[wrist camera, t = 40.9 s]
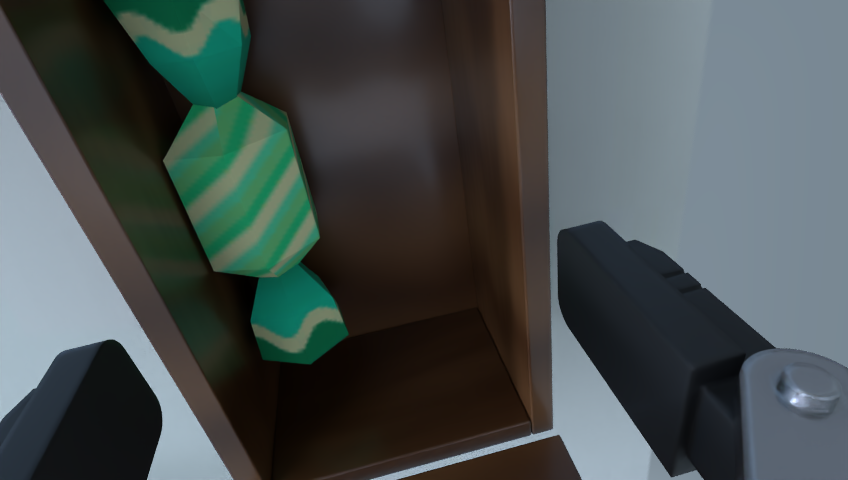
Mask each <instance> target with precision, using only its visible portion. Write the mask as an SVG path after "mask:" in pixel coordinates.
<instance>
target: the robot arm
mask: <svg viewBox="0 0 848 480" xmlns="http://www.w3.org/2000/svg"><path fill="white" fill-rule="evenodd" d="M557 257H558V300H559V305H560V309H561V312H562V315H563V318H564V320H565V322H566V324H567V326H568V327H569V329H570V330H571V332H572V333H573V335H574V336H575V338H576V339H577V341H578V342H579V344H580V345H581V346H582V348H583V349H584V351H585V352H586V354H587V355H588V357H589V358H590V360H591V361H592V362H593V364H594V365H595V367H596V368H597V370H598V371H599V373H600V374H601V376H602V377H603V379H604V380H605V381H606V383H607V384H608V386H609V387H610V389H611V390H612V392H613V393H614V395H615V396H616V397H617V399H618V400H619V402H620V403H621V405H622V406H623V408H624V409H625V411H626V412H627V414H628V415H629V416H630V418H631V419H632V421H633V422H634V424H635V425H636V427H637V428H638V430H639V431H640V432H641V434H642V435H643V437H644V438H645V440H646V441H647V443H648V444H649V446H650V447H651V449H652V450H653V451H654V453H655V454H656V456H657V457H658V459H659V460H660V462H661V463H662V465H663V466H664V467H665V469H666V470H667V472H668V473H669V475H670V476H671V477H674V476H678V475H681V474H684V473H688V472H691V471H694V470H697V471H698V472H699V473H700V475H701V476H702V478H703V479H704V480H848V368H847V367H845V366H843V365H841V364H839V363H837V362H835V361H833V360H831V359H828V358H826V357H823V356H820V355H817V354H814V353H811V352H807V351H802V350H796V349H782V348H781V349H780V348H775V347H774V346H773V345H772V344H770V343H769V342H768V341H767V340H766V339H765V338H763V337H762V336H761V335H760V334H759V333H757V332H756V331H755V330H754V329H753V328H752V327H751V326H749V325H748V324H747V323H746V322H745V321H744V320H742V319H741V318H740V317H739V316H738V315H737V314H735V313H734V312H733V311H732V310H731V309H729V308H728V307H727V306H726V305H725V304H724V303H722V302H721V301H720V300H719V299H717V297H715V296H714V295H713V294H712V293H711V292H710V291H708V290H707V289H706V288H702V287H701V284H700V283H699V282H698V281H697V280H696V279H694V278H693V277H692V276H691V275H690V274H689V273H684V270H683V268H681V267H680V266H679V265H678V264H677V263H676V262H674V261H673V260H672V259H671V258H670V257H669V256H667V255H666V254H665V253H664V252H662V251H660V250H658V249H656V248H653V247H651V246H649V245H646V244H644V243H642V242H639V241H637V240H632V241H628V242H626V241H624V240H623V239H622V238H621V237H620V236H619V235H618V234H617V233H616V232H615V231H614V230H613V229H611V228H610V227H609V226H608V225H607V224H606V223H605V222H603V221H596V222H592V223H588V224H584V225H580V226H576V227H572V228H568V229H564V230H561V231H560V232H559V234H558V239H557ZM161 431H162V411H161V407H160V404H159V401H158V399H157V397H156V395H155V394H154V392H153V391H152V389H151V388H150V386H149V385H148V383H147V382H146V380H145V379H144V377H143V376H142V374H141V373H140V371H139V370H138V368H137V367H136V365H135V364H134V362H133V361H132V359H131V358H130V356H129V355H128V353H127V352H126V350H125V349H124V347H123V346H122V345H121V344H120V343H119V342H117V341H115V340H106V341H102V342H98V343H94V344H90V345H86V346H82V347H77V348H73V349H69V350H65V351H63V352H61V353H59V354H58V355H57V356H56V358H55V359H54V361H53V362H52V364H51V366H50V367H49V369H48V370H47V372H46V374H45V375H44V377H43V378H42V380H41V382H40V383H39V385H38V387H37V388H36V389H33V390H32V391H31V392H30V393H29V394H28V395H27V396H26V397H25V398H24V399H23V400H21V401H20V402H19V403H18V404H17V405H16V406H15V407H14V408H13V409H12V410H11V411H10V412H9V413H8V414H7V415H6V416H5V417H4V418H3V419H2V421H1V422H0V480H147V477H148V474H149V471H150V467H151V464H152V461H153V458H154V454H155V451H156V448H157V445H158V441H159V438H160V435H161Z"/></svg>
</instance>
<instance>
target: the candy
mask: <svg viewBox="0 0 848 480" xmlns="http://www.w3.org/2000/svg"><path fill="white" fill-rule="evenodd" d="M104 2H105V3H106V5H107V6H108V7H109V9H110V10H111V11H112V13H113V14H114V15H115V17H116V18H117V20H118V21H119V22H120V24H121V25H122V26H123V28H124V29H125V30H126V32H127V33H128V35H129V36H130V37H131V39H132V40H133V41H134V43H135V44H136V45H137V47H138V48H139V50H140V51H141V52H142V54H143V55H144V56H145V58H146V59H147V60H148V62H149V63H150V64H151V65H152V66H153V67H154V68H155V69H156V70H157V71H158V72H159V73H160V74H161V75H162V76H163V77H164V78H165V79H167V80H168V81H169V82H170V83H171V84H172V85H173V86H174V87H175V88H176V89H177V90H178V91H179V92H180V93H181V94H183V95H184V96H185V97H186V98H187V99H188V100H189V101H190V102H191V103H192V104H193V105H192V107H191V109H190V111H189V113H188V115H187V117H186V119H185V120H184V122H183V124H182V126H181V128H180V130H179V132H178V134H177V136H176V138H175V139H174V141H173V143H172V145H171V147H170V149H169V151H168V153H167V155H166V156H165V158H164V160H163V162H164V164H165V166H166V168H167V170H168V173H169V175H170V177H171V179H172V181H173V183H174V186H175V188H176V190H177V192H178V194H179V196H180V199H181V201H182V203H183V205H184V207H185V209H186V212H187V214H188V216H189V218H190V220H191V222H192V225H193V227H194V229H195V231H196V233H197V235H198V238H199V240H200V242H201V244H202V246H203V248H204V251H205V253H206V255H207V257H208V259H209V261H210V264H211V266H212V268H213V270H214V271H216V272H224V273H231V274H238V275H245V276H253V277H259V280H258V285H257V290H256V295H255V300H254V306H253V311H252V316H251V321H250V322H251V325H252V328H253V331H254V334H255V337H256V340H257V343H258V347H259V350H260V353H261V356H262V359H263V360H269V361H279V362H290V363H300V364H312V363H313V362H314V361H316V360H317V359H318V358H319V357H321V356H322V355H323V354H325V353H326V352H327V351H328V350H330V349H331V348H332V347H334V346H335V345H336V344H337V343H339V342H340V341H341V340H343V339H344V338H345V337H346V336H348V335H349V333H348V330H347V327H346V324H345V321H344V318H343V315H342V313H341V310H340V307H339V305H338V303H337V302H336V300H335V299H334V297H333V296H332V295H331V293H330V292H329V290H328V289H327V288H326V286H325V285H324V283H323V282H322V280H321V279H320V278H319V276H317V275H316V274H315V273H314V272H312V271H311V270H310V269H309V268H307V267H306V266H305V265H304V264H302V263H301V262H300V261H301V260H302V259H303V258H304V256H305V255H306V254H307V253H308V252H309V250H310V249H311V248H312V247H313V246H314V244H315V243H316V242H317V241H318V240H319V238H320V234H319V226H318V218H317V212H316V208H315V205H314V202H313V199H312V195H311V192H310V189H309V185H308V182H307V179H306V175H305V172H304V169H303V165H302V162H301V159H300V155H299V152H298V149H297V146H296V142H295V139H294V136H293V132H292V129H291V126H290V122H289V119H288V116H287V112H284V111H282V110H280V109H278V108H276V107H274V106H272V105H269V104H267V103H265V102H263V101H261V100H259V99H256V98H254V97H252V96H250V95H248V94H246V93H243V92H241V89H242V84H243V78H244V73H245V67H246V62H247V56H248V51H249V45H250V40H251V34H250V29H249V25H248V20H247V16H246V11H245V6H244V2H243V0H104Z"/></svg>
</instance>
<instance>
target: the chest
mask: <svg viewBox="0 0 848 480" xmlns="http://www.w3.org/2000/svg"><path fill="white" fill-rule="evenodd" d="M243 2H244V6H245V11H246V16H247V20H248V25H249V29H250V34H251V40H250V45H249V51H248V56H247V62H246V67H245V73H244V78H243V84H242V89H241V92H243V93H246V94H248V95H250V96H252V97H254V98H256V99H259V100H261V101H263V102H265V103H267V104H269V105H272V106H274V107H276V108H278V109H280V110H282V111H284V112H287V116H288V119H289V122H290V126H291V129H292V132H293V136H294V139H295V142H296V146H297V149H298V152H299V155H300V159H301V162H302V165H303V169H304V172H305V175H306V179H307V182H308V185H309V189H310V192H311V195H312V199H313V202H314V205H315V208H316V212H317V218H318V226H319V234H320V238H319V240H318V241H317V242H316V243H315V244H314V246H313V247H312V248H311V249H310V250H309V252H308V253H307V254H306V255H305V256H304V258H303V259H302V260H301V261H300V262H301V263H302V264H304V265H305V266H306V267H307V268H309V269H310V270H311V271H312V272H314V273H315V274H316V275H317V276H319V278H320V279H321V280H322V282H323V283H324V285H325V286H326V288H327V289H328V290H329V292H330V293H331V295H332V296H333V297H334V299H335V300H336V302H337V303H338V305H339V307H340V310H341V313H342V315H343V318H344V321H345V324H346V327H347V330H348V333H349V335H348V336H346V337H345V338H344V339H343V340H341V341H340V342H339V343H337V344H336V345H335V346H334V347H332V348H331V349H330V350H328V351H327V352H326V353H325V354H323V355H322V356H321V357H319V358H318V359H317V360H316V361H314V362H313V363H312V364H300V363H290V362H279V361H269V360H263V359H262V356H261V353H260V350H259V347H258V343H257V340H256V337H255V334H254V331H253V328H252V325H251V322H250V321H251V316H252V311H253V306H254V300H255V295H256V290H257V285H258V280H259V277H253V276H245V275H238V274H231V273H224V272H216V271H214V270H213V268H212V266H211V264H210V261H209V259H208V257H207V255H206V253H205V251H204V248H203V246H202V244H201V242H200V240H199V238H198V235H197V233H196V231H195V229H194V227H193V225H192V222H191V220H190V218H189V216H188V214H187V212H186V209H185V207H184V205H183V203H182V201H181V199H180V196H179V194H178V192H177V190H176V188H175V186H174V183H173V181H172V179H171V177H170V175H169V173H168V170H167V168H166V166H165V164H164V162H163V160H164V158H165V156H166V155H167V153H168V151H169V149H170V147H171V145H172V143H173V141H174V139H175V138H176V136H177V134H178V132H179V130H180V128H181V126H182V124H183V122H184V120H185V119H186V117H187V115H188V113H189V111H190V109H191V107H192V105H193V104H192V103H191V102H190V101H189V100H188V99H187V98H186V97H185V96H184V95H183V94H181V93H180V92H179V91H178V90H177V89H176V88H175V87H174V86H173V85H172V84H171V83H170V82H169V81H168V80H167V79H165V78H164V77H163V76H162V75H161V74H160V73H159V72H158V71H157V70H156V69H155V68H154V67H153V66H152V65H151V64H150V63H149V62H148V60H147V59H146V58H145V56H144V55H143V54H142V52H141V51H140V50H139V48H138V47H137V45H136V44H135V43H134V41H133V40H132V39H131V37H130V36H129V35H128V33H127V32H126V30H125V29H124V28H123V26H122V25H121V24H120V22H119V21H118V20H117V18H116V17H115V15H114V14H113V13H112V11H111V10H110V9H109V7H108V6H107V5H106V3H105V2H104V0H0V94H1V95H2V97H3V99H4V100H5V102H6V104H7V105H8V107H9V109H10V110H11V112H12V113H13V115H14V117H15V118H16V120H17V122H18V123H19V125H20V127H21V128H22V130H23V132H24V133H25V135H26V137H27V138H28V140H29V142H30V143H31V145H32V147H33V148H34V150H35V152H36V153H37V155H38V157H39V158H40V160H41V162H42V163H43V165H44V166H45V168H46V170H47V171H48V173H49V175H50V176H51V178H52V180H53V181H54V183H55V185H56V186H57V188H58V190H59V191H60V193H61V195H62V196H63V198H64V200H65V201H66V203H67V205H68V206H69V208H70V210H71V211H72V213H73V214H74V216H75V218H76V219H77V221H78V223H79V224H80V226H81V228H82V229H83V231H84V233H85V234H86V236H87V238H88V239H89V241H90V243H91V244H92V246H93V248H94V249H95V251H96V253H97V254H98V256H99V258H100V259H101V261H102V262H103V264H104V266H105V267H106V269H107V271H108V272H109V274H110V276H111V277H112V279H113V281H114V282H115V284H116V286H117V287H118V289H119V291H120V292H121V294H122V296H123V297H124V299H125V301H126V302H127V304H128V306H129V307H130V309H131V310H132V312H133V314H134V315H135V317H136V319H137V320H138V322H139V324H140V325H141V327H142V329H143V330H144V332H145V334H146V335H147V337H148V339H149V340H150V342H151V344H152V345H153V347H154V349H155V350H156V352H157V354H158V355H159V357H160V358H161V360H162V362H163V363H164V365H165V367H166V368H167V370H168V372H169V373H170V375H171V377H172V378H173V380H174V382H175V383H176V385H177V387H178V388H179V390H180V392H181V393H182V395H183V397H184V398H185V400H186V402H187V403H188V405H189V406H190V408H191V410H192V411H193V413H194V415H195V416H196V418H197V420H198V421H199V423H200V425H201V426H202V428H203V430H204V431H205V433H206V435H207V436H208V438H209V440H210V441H211V443H212V445H213V446H214V448H215V450H216V451H217V453H218V454H219V456H220V458H221V459H222V461H223V463H224V464H225V466H226V468H227V469H228V471H229V473H230V474H231V476H232V478H233V479H234V480H370V479H374V478H377V477H381V476H385V475H388V474H392V473H396V472H399V471H403V470H406V469H410V468H414V467H417V466H421V465H425V464H428V463H432V462H435V461H439V460H443V459H446V458H450V457H454V456H457V455H461V454H464V453H468V452H472V451H475V450H479V449H482V448H486V447H490V446H493V445H497V444H501V443H504V442H508V441H511V440H515V439H519V438H522V437H526V436H530V435H531V432H532V434H537V433H541V432H544V431H548V430H551V429H553V405H552V348H551V290H550V233H549V176H548V119H547V62H546V5H545V0H243Z"/></svg>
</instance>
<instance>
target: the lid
mask: <svg viewBox="0 0 848 480" xmlns="http://www.w3.org/2000/svg"><path fill="white" fill-rule="evenodd" d="M398 480H582V479H581V477H580V475H579V473H578V471H577V469H576V467H575V465H574V463H573V461H572V459H571V457H570V455H569V453H568V451H567V449H566V447H565V445H564V443H563V441H562V439H561V437H560V435H556V436H553V437H549V438H546V439H542V440H538V441H535V442H531V443H528V444H524V445H520V446H517V447H513V448H510V449H506V450H502V451H499V452H495V453H492V454H488V455H484V456H481V457H477V458H474V459H470V460H466V461H463V462H459V463H456V464H452V465H448V466H445V467H441V468H437V469H434V470H430V471H427V472H423V473H419V474H416V475H412V476H409V477H405V478H401V479H398Z"/></svg>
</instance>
